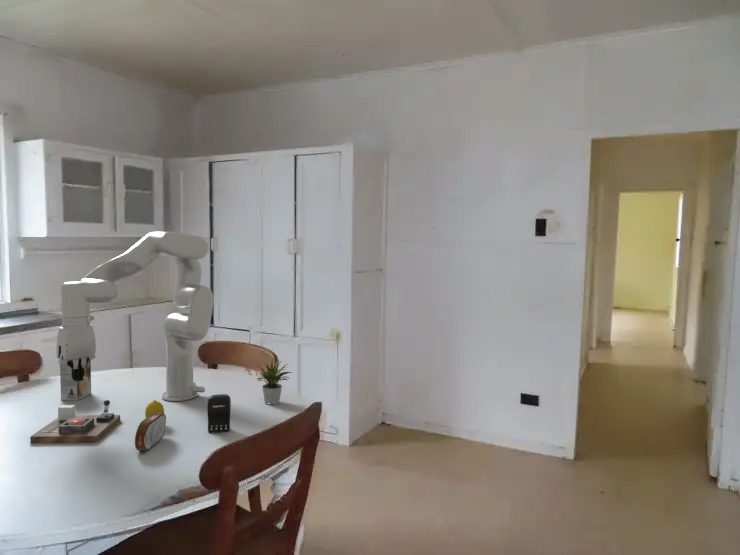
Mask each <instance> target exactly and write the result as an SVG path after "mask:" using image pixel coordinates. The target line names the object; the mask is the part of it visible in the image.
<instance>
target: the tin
mask: <svg viewBox="0 0 740 555" xmlns="http://www.w3.org/2000/svg"><path fill="white" fill-rule="evenodd" d="M166 421H167V416H166V414H165V412H164V413H157V412H154V413H153V414H151V415H150V416H148V417H147V418H146V417H145V418H144V419H143V420H141V422H140V423H139V424H138V426H137V429H136V432H135V436H134V446H135V449H136V450H137V451H143V452H146V451H147V452H148V451H149V450H151V448H153V447H155V445H157V444H158V443H159V442H160V441H161V439H163V436H164V435H165V431H166Z"/></svg>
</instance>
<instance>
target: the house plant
mask: <svg viewBox="0 0 740 555" xmlns="http://www.w3.org/2000/svg"><path fill="white" fill-rule="evenodd" d="M273 362H274V359H273V358H272V359H271V363H270V366H269V365H268V364H267V363H266V362H264V363H263V365H265V367H266V370H265V368H264V367H263V366H262V365H261V364H259V365H256V368H257V367H258V368H259V370H261V373H260V375H262V376H263V377H264V378H265V379H263V378H262V377H258V378H256V381H258V382H261V381H262V382H265V384H263V385H262V386H261V387H262V393H263V400H264V404H265V403H270V404H274V403H278V402H279V403H280V401H281V400H280V399H281V393H282V388H283V386H282V384H280V383H279V382H280V381H282V380H283V381H284V380H285V381H288V379H290V377H289V376H284V375H287V374H290V373H291V374H292V373H293V371H285V369H286V368H289V367H286V366H287V365H289V363H287V364H284V365H283V366H282V367H281V368H280V369H278V367H279V365H280V364H281V362H282V361H280V359H279V360H277V361H276V362H275V364H273ZM283 371H284V372H283ZM290 380H291V379H290ZM279 403H278V404H279Z"/></svg>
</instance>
